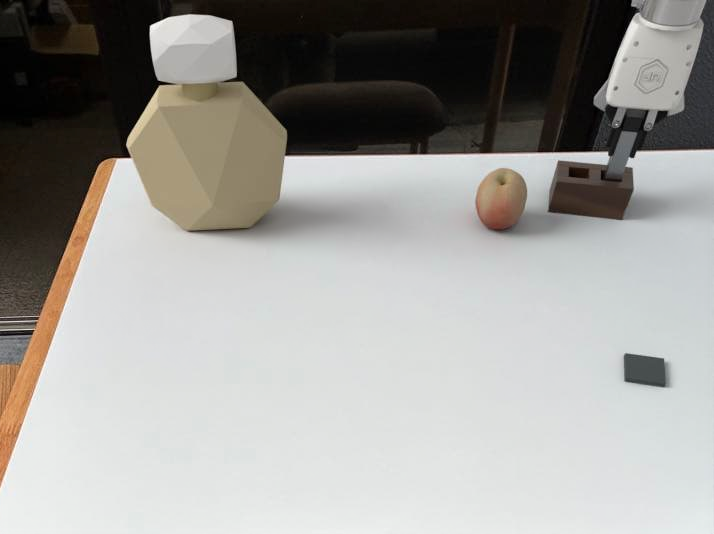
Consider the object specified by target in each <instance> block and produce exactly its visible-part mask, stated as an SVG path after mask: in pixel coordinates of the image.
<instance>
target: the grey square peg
mask: <svg viewBox="0 0 714 534" xmlns="http://www.w3.org/2000/svg"><path fill="white" fill-rule="evenodd" d="M643 111H644V110H640V109H626V112H625V114H624V117H623V119H622V132H621V135H620V138H619V141H618V144H617V147H616V150H615V152H614V155H612V156H609V158H608V160H607V164H606V165H607V167H606V169H605V172H604V175H603V178H602V180H604V181H614V182H620V180H621V178H622V175H623V172H624V170H625V167H627V164H628V161H629V159H630V157H629V156H630V153H631V150H632V147H633V145H634V142H635V139H636V137H637V134H638V131H639V128H640V126H641V123H642V120H643V118H644V112H643Z"/></svg>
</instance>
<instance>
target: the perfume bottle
mask: <svg viewBox="0 0 714 534" xmlns="http://www.w3.org/2000/svg"><path fill="white" fill-rule="evenodd" d="M234 30H235V29H234V24H233V21H232V20H228V19H226V18H221V17H218V16H214V15H209V14H190V13H189V14H183V15H176V16H169V17H166V18H164V19H161V20H160V21H157V22H155V23H153V24H151V25H149V44H150V53H151V59H152V65H153V69H154V73H155V77H156V79H157V81H160V82H164V83H170V84H163V85H161V84H160V85H158V88H157V89H156V91H155V92H154V94H153V96H152V97H151V99H150V101H149V102H148V104H147V105H146V107H145V109H144V111H142V114H141V115H140V117H139V119H138V120H137V122H136V124H135V125H134V127H133V128H132V130H131V132H130V133H129V135H128V137H127V140H126V144H125V146H126V148H127V150H128V153H129V155H130V158H131V161H132V163H133V165H134V168H135V169H136V172H137V174H138V177H139V179H140V182H141V184H142V187H143V190H144V192H145V193H146V196H147V198H148V200H149V203H150V205H151V206H152V207H153V208H154V209H155V210H157V211H158V212H160V214H163V215H164V216H165V217H166V218H168V219H169V220H171V222H173V223H175V224H176V225H177V226H179V227H180V228H181V229H183V230H184V231H206V230H207V231H208V230H226V229H228V230H229V229H249V228H253V226H254V225H255V224H256V223H258V221H259V220H260V219H261V218H262V217H264V215H265V214H267V213H268V211H270V210H271V208H273V207H274V206H275V205H276V204H277V202H278V201H280V199H281V190H282V183H283V174H284V167H285V159H286V149H287V141H288V131H287V129H286V128H285V127H284V126H283V125H282V123H280V121H279V120H278V118H276V117H275V115H273V113H272V112H271V111H270V110H269V109H268V108H267V107H266V106H265V105H264V104H263V103H262V101H261V100H260V99H259V98H258V97H257V96H256V95H255V93H254V92H253V90H251V89H250V88H249V87H248V85H246V84H245V82H244V81H229V80H232V79H234V78H237V75H238V74H237V73H238V67H237V52H236V51H237V50H236V39H235V31H234ZM226 81H228V82H226Z"/></svg>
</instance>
